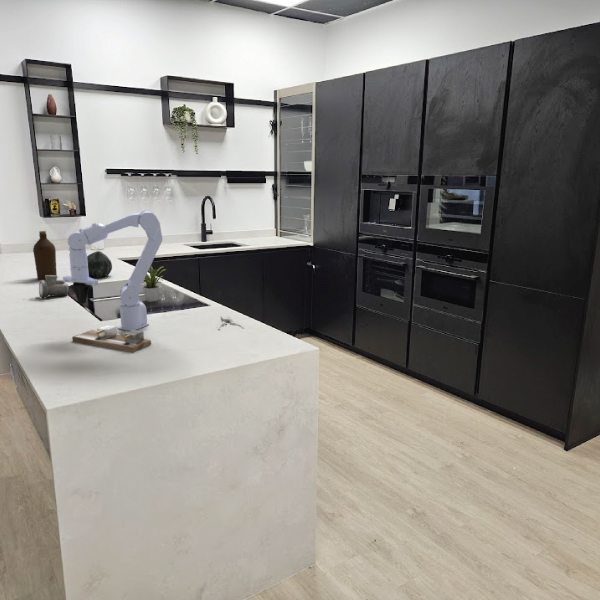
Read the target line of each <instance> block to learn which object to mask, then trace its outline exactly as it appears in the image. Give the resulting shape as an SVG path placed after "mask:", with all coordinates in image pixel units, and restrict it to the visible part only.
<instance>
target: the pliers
mask: <svg viewBox="0 0 600 600" xmlns="http://www.w3.org/2000/svg"><path fill="white" fill-rule="evenodd" d="M220 320H221V321H222V322H220V323H218V324H217V326H216V327H217V328H218V329H217V330H218V331H220V330H221V327H225V326H227V325H228V323H229V322H230V323H229V325H231V326H239V327H240V328H241V329H244V325H243V324H242V323H240V322H238V321H234V320H233V319H232V318H231V316H230V315H227V317H226V316H223V315H220ZM226 324H227V325H226ZM224 325H225V326H224ZM220 326H221V327H220Z"/></svg>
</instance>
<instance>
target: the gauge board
mask: <svg viewBox="0 0 600 600" xmlns="http://www.w3.org/2000/svg"><path fill="white" fill-rule="evenodd" d="M96 332H97V330H94V329H90V330H87V331H85V332H82V333H80V334H79V333H78V334H77V335H74V336H72V342H77V343H82V344H87V345H92V346H97V347H103V348H107V349H113V350H119V351H125V352H131V353H134V352H137V351H139V350H141V349H143V348H146V347H148V346H150V345H151V344H152V340H151V339H147V338H145V335H144V331H141V330H138V329H137V330H133V331H128V332H126V333H124V335H123V334H119V333H118V334H117V333H116V335H115V336H112V337H110V338H107V339H106V338H100V337H99V338H97V334H96Z"/></svg>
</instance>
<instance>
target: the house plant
mask: <svg viewBox="0 0 600 600" xmlns="http://www.w3.org/2000/svg"><path fill="white" fill-rule="evenodd" d="M164 267H165V266H160V267H159V268H158V269H157V268H156V269H154V268H153V266H152V265H151V266H150V268H149V270H148V272H149V274H148V273H147V274H146V276H145V278H144V280H143V283H144V284H145V285H144V286H143V287H142V288H143V293H144V298H145V301H146V302H149V303H151V302H152V303H153V302H157V301H158V300H159V293H160V285H157V283H160V284H162V282H163V281H164V279H161V278H162V277H163V275H161V276H160V274H161V273H163V272H164V271H167V270H168V269H166V268H165V269H162V268H164ZM161 269H162V270H161ZM160 270H161V271H160ZM158 272H159V273H158Z"/></svg>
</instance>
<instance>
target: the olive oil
mask: <svg viewBox="0 0 600 600" xmlns="http://www.w3.org/2000/svg"><path fill="white" fill-rule="evenodd" d="M38 236H39V239H38V240H37V241H36V243H34V245H33V247H32V249H33V250H32V252H33V257H34V263H35V270H36V277H37V280H40V281H41V280H46V278H45V275H55V276H57V277H58V274H57V255H56V247H55V244H54V243H53V242H52V241H51V240H49V239H48V238H47V231H46V230H40V231H39V235H38Z"/></svg>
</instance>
